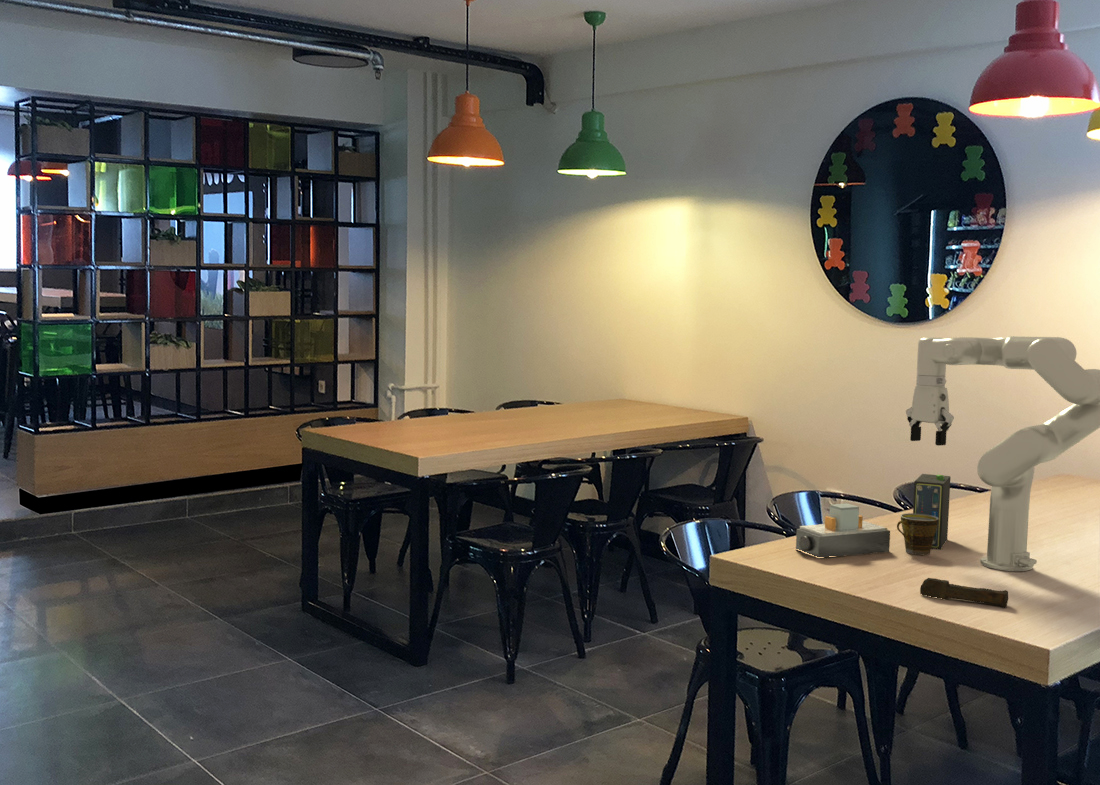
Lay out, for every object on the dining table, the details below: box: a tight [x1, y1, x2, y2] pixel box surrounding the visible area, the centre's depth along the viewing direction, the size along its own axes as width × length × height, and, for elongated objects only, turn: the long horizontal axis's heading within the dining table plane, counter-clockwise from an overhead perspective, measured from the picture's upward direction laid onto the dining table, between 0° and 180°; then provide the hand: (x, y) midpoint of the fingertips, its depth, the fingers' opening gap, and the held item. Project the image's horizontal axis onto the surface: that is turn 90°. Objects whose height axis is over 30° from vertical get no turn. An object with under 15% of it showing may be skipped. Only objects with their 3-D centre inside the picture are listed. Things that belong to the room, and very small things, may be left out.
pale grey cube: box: [829, 503, 860, 530], centre depth 285 cm, size 5×6×6 cm
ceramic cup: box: [896, 512, 939, 556], centre depth 285 cm, size 13×10×10 cm
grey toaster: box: [795, 514, 891, 557], centre depth 285 cm, size 10×25×10 cm, turn 112°
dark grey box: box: [912, 473, 951, 551], centre depth 297 cm, size 8×18×20 cm, turn 152°
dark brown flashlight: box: [919, 577, 1009, 609], centre depth 239 cm, size 19×4×5 cm, turn 60°
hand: (927, 442), depth 287 cm, fingers open, 9 cm apart
